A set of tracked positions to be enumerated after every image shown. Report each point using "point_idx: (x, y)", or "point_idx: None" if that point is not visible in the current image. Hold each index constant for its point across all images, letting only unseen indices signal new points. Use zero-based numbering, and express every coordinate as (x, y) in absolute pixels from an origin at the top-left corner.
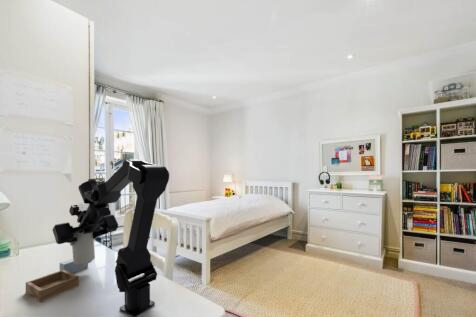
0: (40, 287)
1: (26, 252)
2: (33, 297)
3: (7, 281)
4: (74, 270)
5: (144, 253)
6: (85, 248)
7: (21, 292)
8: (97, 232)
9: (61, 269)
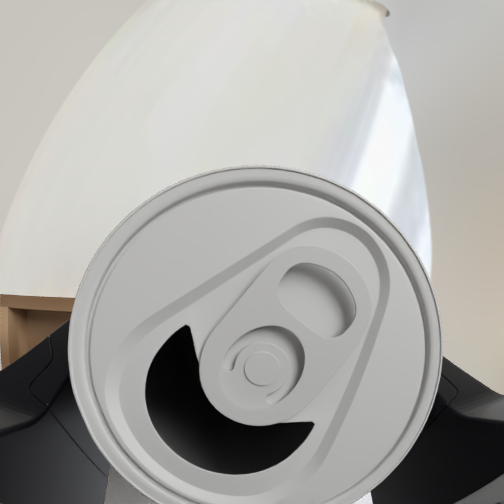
0: (52, 321)
1: None
2: None
3: (53, 130)
4: None
5: None
6: (225, 431)
7: (20, 278)
8: (398, 489)
9: None
